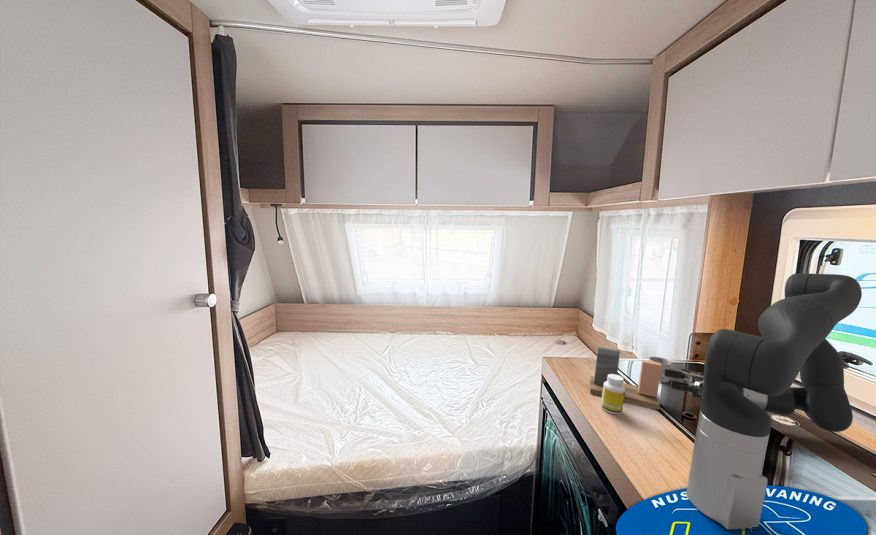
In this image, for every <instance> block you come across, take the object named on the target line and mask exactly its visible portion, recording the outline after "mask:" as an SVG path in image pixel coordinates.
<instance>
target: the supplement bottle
mask: <svg viewBox="0 0 876 535" xmlns="http://www.w3.org/2000/svg"><path fill="white" fill-rule="evenodd" d="M623 383H624V377H623V376H621V375H619V374H617V375H615V374H608V376H607V381H606V382H604V385H603V392H602V396H601V401H600V408H601V409H602V410H603V411H605V413H609V414H613V415H621V414H622V412H623V409H624V395H625V387H624V386H623Z"/></svg>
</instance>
